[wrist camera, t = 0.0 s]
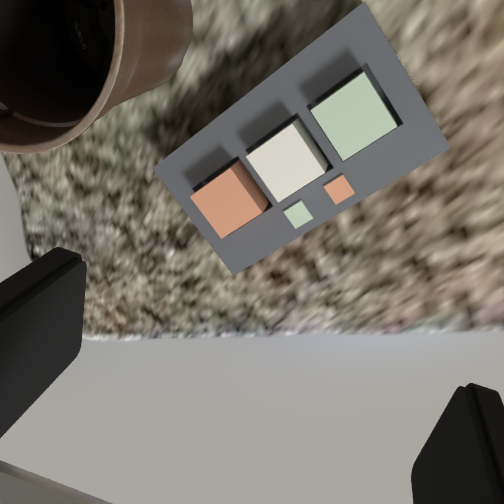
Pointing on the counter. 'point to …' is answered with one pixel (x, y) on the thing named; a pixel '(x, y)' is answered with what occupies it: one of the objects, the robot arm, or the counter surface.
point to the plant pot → (81, 63)
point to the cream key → (288, 160)
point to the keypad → (298, 106)
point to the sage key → (354, 116)
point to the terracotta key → (230, 199)
